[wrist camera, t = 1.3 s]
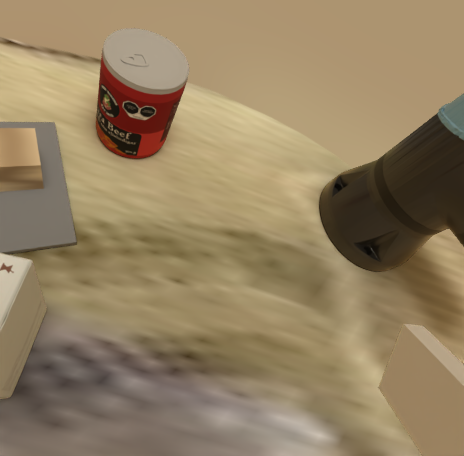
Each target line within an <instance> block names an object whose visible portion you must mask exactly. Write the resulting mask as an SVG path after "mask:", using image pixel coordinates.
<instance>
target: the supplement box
mask: <svg viewBox="0 0 464 456" xmlns="http://www.w3.org/2000/svg"><path fill="white" fill-rule="evenodd" d="M46 310H47V308H46V304H45V301H44V298H43V294H42V291H41V287H40V284H39V281H38V277H37V274H36V271H35V268H34V264H33V261H32V260H30V259H25V258H21V257H17V256H12V255H8V254H4V253H0V399H4V398H10V397H11V396H12V394H13V391H14V389H15V387H16V384H17V382H18V380H19V377H20V375H21V373H22V370H23V368H24V365H25V363H26V360H27V358H28V355H29V353H30V350H31V348H32V345H33V343H34V340H35V338H36V335H37V333H38V330H39V328H40V325H41V323H42V320H43V318H44V315H45V313H46Z"/></svg>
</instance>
